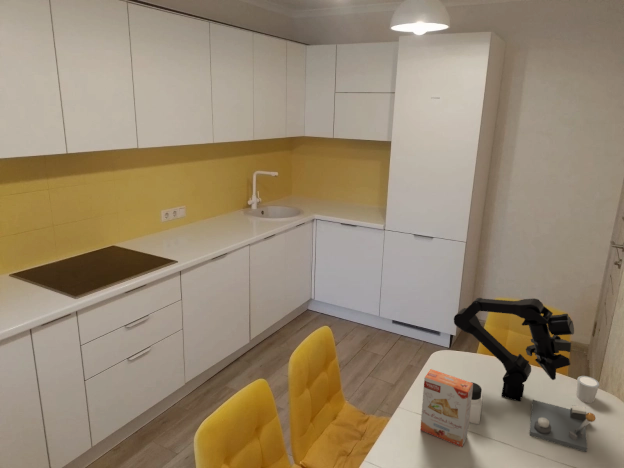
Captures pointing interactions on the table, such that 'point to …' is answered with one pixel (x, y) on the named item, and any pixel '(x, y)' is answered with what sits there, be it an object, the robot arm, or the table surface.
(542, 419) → the push button
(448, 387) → the cracker box
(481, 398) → the medicine bottle
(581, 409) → the rocker switch
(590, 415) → the toggle lever
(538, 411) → the switch panel
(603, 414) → the table surface
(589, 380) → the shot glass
